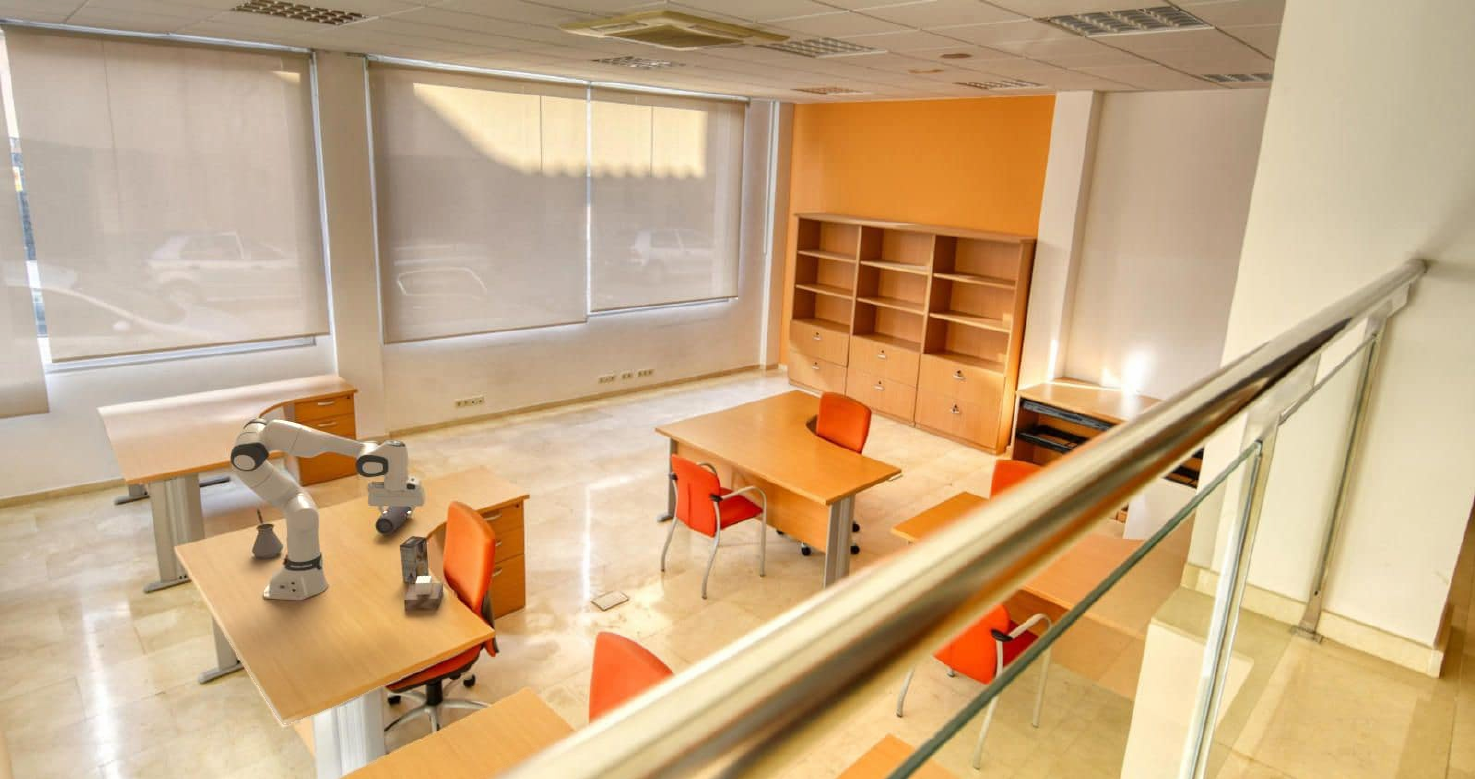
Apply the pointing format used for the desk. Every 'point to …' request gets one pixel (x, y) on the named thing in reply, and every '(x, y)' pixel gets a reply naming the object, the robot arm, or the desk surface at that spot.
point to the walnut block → (423, 598)
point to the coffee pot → (266, 541)
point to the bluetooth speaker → (392, 519)
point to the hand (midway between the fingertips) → (397, 516)
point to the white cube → (423, 585)
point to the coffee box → (414, 558)
